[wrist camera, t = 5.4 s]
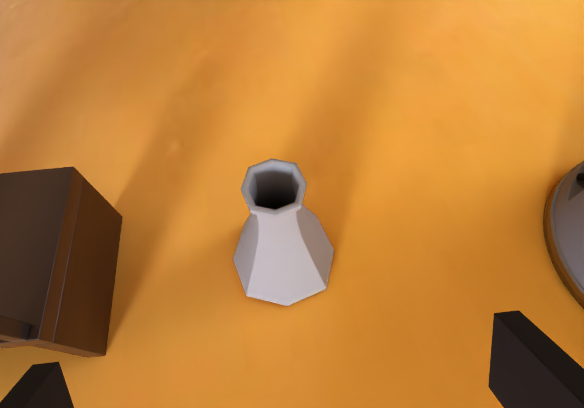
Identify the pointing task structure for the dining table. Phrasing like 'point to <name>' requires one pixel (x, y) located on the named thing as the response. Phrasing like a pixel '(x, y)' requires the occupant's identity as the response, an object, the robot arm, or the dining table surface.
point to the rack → (56, 261)
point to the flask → (281, 237)
